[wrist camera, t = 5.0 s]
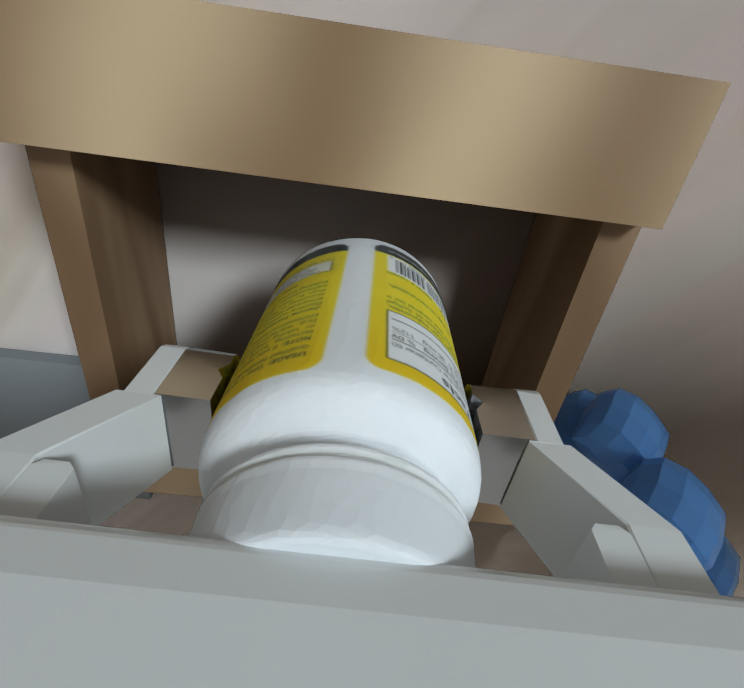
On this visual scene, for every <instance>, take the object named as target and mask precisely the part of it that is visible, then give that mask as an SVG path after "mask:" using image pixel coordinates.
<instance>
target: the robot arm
mask: <svg viewBox="0 0 744 688" xmlns="http://www.w3.org/2000/svg"><path fill="white" fill-rule="evenodd" d="M239 362H240V358H239V356H238V355H237V354H232V353H225V352H219V351H212V350H205V349H198V348H192V347H190V348H189V347H184V346H177V345H169V344H165V345H162V346H160V347H159V348H158V350H157V351H156V352H155V353H154V355H153V356H152V357H151V358H150V359H149V361H148V362H147V363H146V364H145V365H144V367H143V368H142V369H141V370H140V372H139V373H138V374H137V375H136V376H135V378H134V379H133V380H132V381H131V383H130V384H129V385H128V386H127V387H126V389H125V390H114V391H112V392H109V393H107V394H105V395H102V396H100V397H98V398H95V399H93V400H91V401H88V402H86V403H83V404H81V405H79V406H76V407H74V408H72V409H69V410H67V411H65V412H62V413H60V414H58V415H55V416H53V417H51V418H48V419H46V420H43V421H41V422H39V423H36V424H34V425H32V426H29V427H27V428H25V429H22V430H20V431H18V432H15V433H13V434H11V435H8V436H6V437H3V438H1V439H0V688H744V598H743V597H734V596H725V595H720V594H719V593H718V591H717V589H716V588H715V586H714V584H713V583H712V581H711V580H710V578H709V576H708V575H707V573H706V571H705V570H704V568H703V567H702V565H701V563H700V562H699V560H698V558H697V557H696V555H695V554H694V552H693V550H692V549H691V547H690V546H689V544H688V542H687V541H686V539H685V537H684V536H683V534H682V533H681V531H679V530H678V529H677V528H676V527H674V526H673V525H672V524H670V523H669V522H668V521H667V520H665V519H664V518H663V517H661V516H660V515H659V514H658V513H656V512H655V511H654V510H653V509H651V508H650V507H649V506H647V505H646V504H645V503H644V502H642V501H641V500H640V499H638V498H637V497H636V496H635V495H633V494H632V493H631V492H630V491H628V490H627V489H626V488H624V487H623V486H622V485H621V484H619V483H618V482H617V481H615V480H614V479H613V478H612V477H610V476H609V475H608V474H607V473H605V472H604V471H603V470H601V469H600V468H599V467H598V466H596V465H595V464H594V463H592V462H591V461H590V460H589V459H587V458H586V457H585V456H584V455H582V454H581V453H580V452H578V451H577V450H576V449H575V448H573V447H572V446H570V445H564V444H563V442H562V440H561V438H560V436H559V433H558V431H557V429H556V427H555V425H554V423H553V421H552V418H551V416H550V414H549V412H548V410H547V408H546V405H545V403H544V401H543V399H542V397H541V395H540V394H539V393H538V392H537V391H530V390H519V389H505V388H496V387H487V386H479V385H470V384H467V385H466V387H465V388H464V391H465V395H466V400H467V404H468V408H469V412H470V417H471V421H472V425H473V428H474V433H475V437H476V441H477V446H478V451H479V456H480V465H481V488H480V495H479V499H478V502H480V503H487V504H494V505H501V506H500V508H501V509H502V510H503V512H504V513H505V514H506V516H507V517H508V518H509V519H510V521H511V522H512V523H513V525H514V526H515V527H516V528H517V530H518V531H519V532H520V534H521V535H522V536H523V537H524V539H525V540H526V541H527V543H528V544H529V545H530V546H531V548H532V549H533V550H534V551H535V553H536V554H537V555H538V557H539V558H540V559H541V560H542V562H543V563H544V564H545V566H546V567H547V568H548V569H549V571H550V572H551V573H552V575H553V576H545V575H536V574H527V573H518V572H509V571H501V570H492V569H483V568H474V567H465V566H456V565H447V564H436V565H412V564H401V563H392V562H383V561H374V560H365V559H355V558H346V557H337V556H327V555H318V554H309V553H300V552H290V551H281V550H272V549H262V548H256V547H250V546H244V545H241V544H238V543H235V542H232V541H227V540H223V539H214V538H205V537H196V536H187V535H178V534H169V533H160V532H151V531H142V530H133V529H124V528H115V527H106V526H99V525H100V524H101V523H103V522H104V521H105V520H107V519H108V518H109V517H111V516H112V515H113V514H115V513H116V512H117V511H118V510H120V509H121V508H122V507H124V506H125V505H126V504H128V503H129V502H130V501H132V500H133V499H134V498H135V497H137V496H138V495H139V494H141V493H142V492H143V491H145V490H146V489H147V488H149V487H150V486H151V485H152V484H154V483H155V482H156V481H158V480H159V479H160V478H162V477H163V476H164V475H166V474H167V473H168V472H169V471H171V470H172V467H178V468H189V469H198V464H199V456H200V450H201V446H202V442H203V438H204V435H205V433H206V430H207V427H208V425H209V423H210V421H211V419H212V417H213V415H214V413H215V410H216V408H217V407H218V405H219V403H220V401H221V399H222V397H223V394H224V392H225V390H226V388H227V386H228V384H229V382H230V380H231V378H232V376H233V374H234V372H235V370H236V368H237V366H238V364H239Z"/></svg>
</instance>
